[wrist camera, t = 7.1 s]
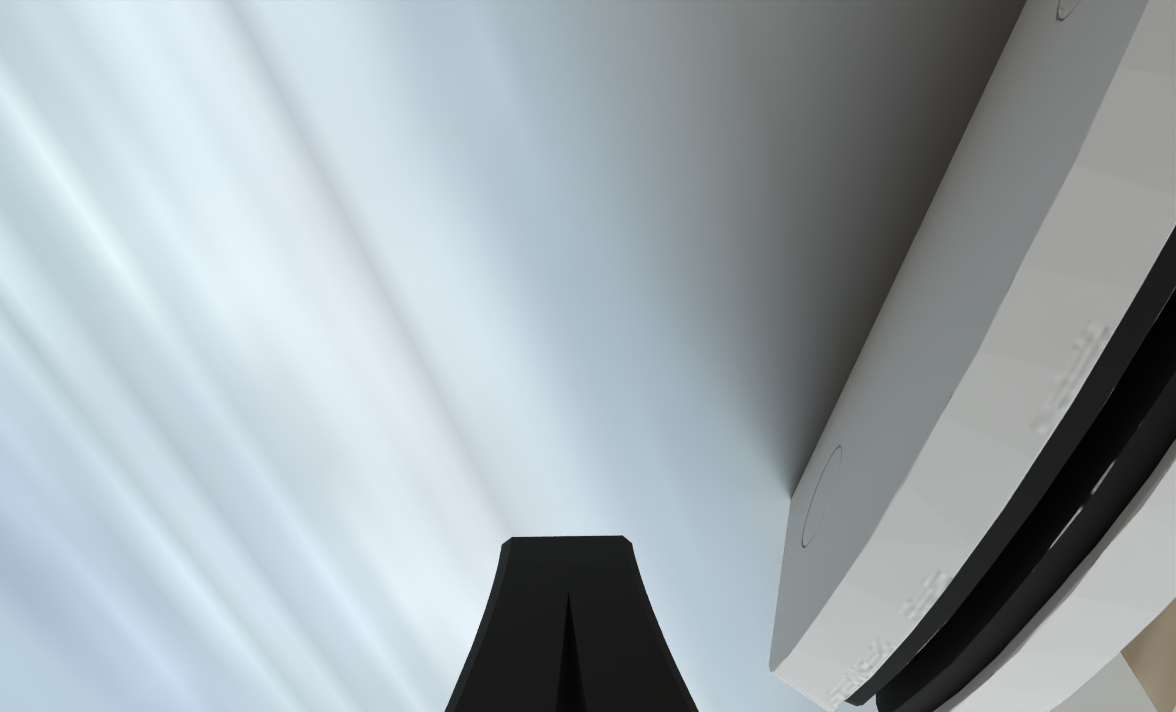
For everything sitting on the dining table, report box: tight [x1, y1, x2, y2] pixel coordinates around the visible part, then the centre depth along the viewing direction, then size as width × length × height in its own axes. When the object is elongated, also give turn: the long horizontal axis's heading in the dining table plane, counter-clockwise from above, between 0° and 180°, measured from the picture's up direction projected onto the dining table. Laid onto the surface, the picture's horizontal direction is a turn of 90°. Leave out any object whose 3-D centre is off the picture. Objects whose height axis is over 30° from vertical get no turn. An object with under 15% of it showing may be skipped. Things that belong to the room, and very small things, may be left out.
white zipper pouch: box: [769, 0, 1176, 712], centre depth 15 cm, size 17×5×10 cm, turn 167°
